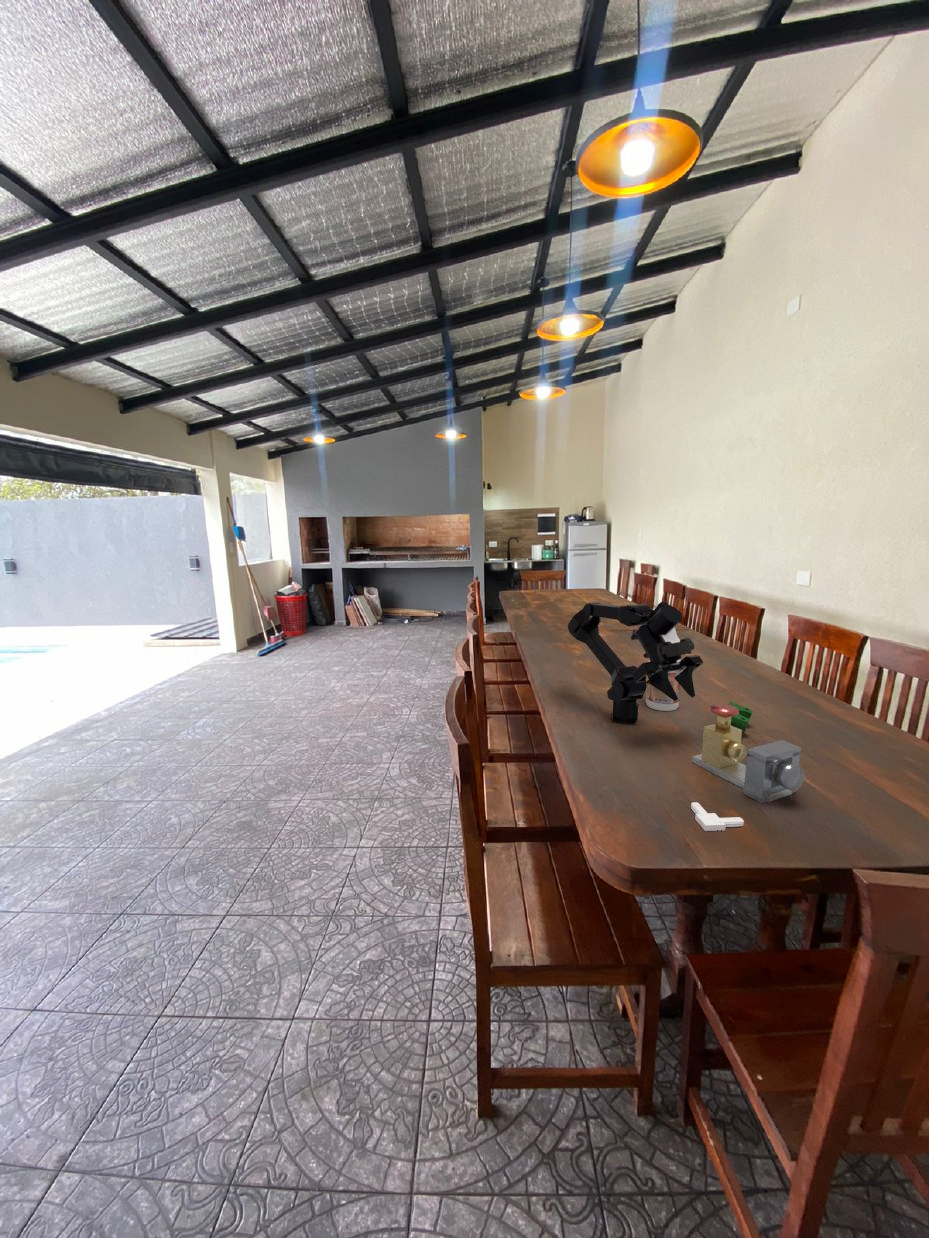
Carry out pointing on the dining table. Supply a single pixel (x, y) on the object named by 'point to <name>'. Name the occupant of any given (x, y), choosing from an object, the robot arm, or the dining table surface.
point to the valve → (723, 739)
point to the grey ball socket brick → (764, 771)
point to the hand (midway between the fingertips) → (685, 698)
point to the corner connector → (713, 819)
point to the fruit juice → (658, 698)
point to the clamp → (740, 717)
